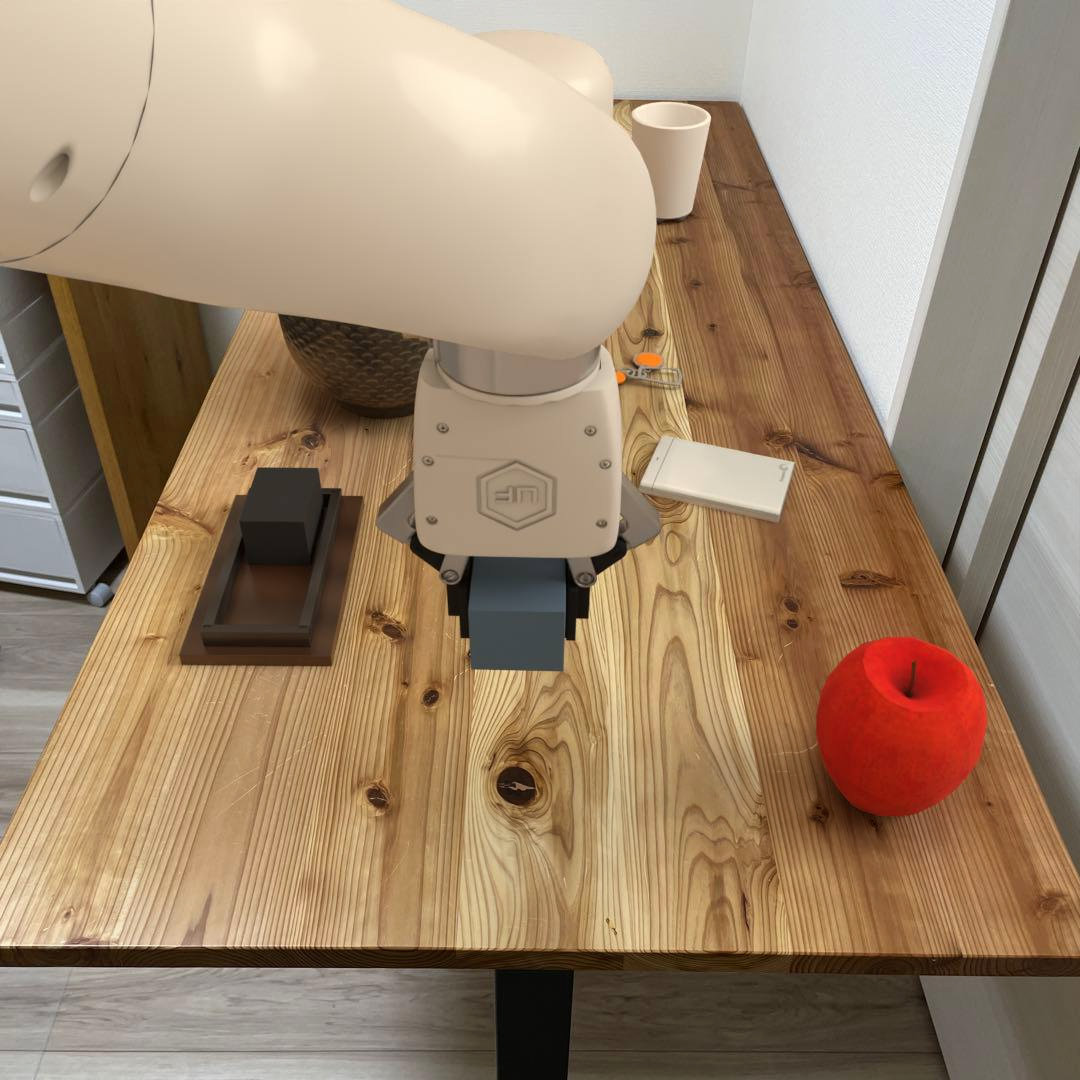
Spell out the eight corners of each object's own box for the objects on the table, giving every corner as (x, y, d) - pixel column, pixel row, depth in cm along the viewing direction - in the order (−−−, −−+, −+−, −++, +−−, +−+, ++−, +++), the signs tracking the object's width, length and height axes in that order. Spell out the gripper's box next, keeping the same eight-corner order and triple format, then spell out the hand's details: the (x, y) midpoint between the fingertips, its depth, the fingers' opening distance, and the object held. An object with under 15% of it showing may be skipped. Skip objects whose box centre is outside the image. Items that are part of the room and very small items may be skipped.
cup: (663, 236, 135) (673, 134, 127) (609, 211, 140) (614, 112, 132) (715, 215, 140) (727, 116, 132) (661, 192, 146) (669, 96, 137)
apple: (928, 728, 74) (976, 601, 66) (977, 852, 67) (1038, 725, 59) (785, 731, 74) (817, 603, 66) (819, 856, 66) (859, 728, 58)
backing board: (332, 665, 78) (328, 641, 76) (181, 664, 78) (174, 640, 76) (364, 504, 93) (361, 481, 91) (237, 503, 92) (232, 480, 91)
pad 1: (311, 565, 85) (304, 521, 82) (248, 564, 85) (238, 520, 82) (325, 510, 90) (318, 467, 87) (265, 509, 90) (257, 467, 87)
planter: (262, 438, 100) (226, 246, 88) (319, 334, 115) (295, 158, 103) (470, 454, 98) (462, 261, 86) (500, 346, 113) (497, 169, 101)
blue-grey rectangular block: (479, 582, 63) (476, 523, 60) (563, 584, 63) (565, 525, 60) (470, 670, 58) (468, 609, 55) (563, 672, 57) (565, 611, 55)
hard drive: (796, 460, 97) (662, 432, 100) (780, 513, 91) (639, 482, 94) (792, 475, 98) (661, 446, 101) (777, 528, 92) (637, 497, 95)
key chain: (683, 356, 112) (683, 349, 111) (681, 394, 106) (682, 387, 106) (562, 347, 113) (562, 340, 113) (554, 384, 108) (554, 377, 107)
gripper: (315, 375, 45) (357, 668, 57) (715, 383, 45) (675, 675, 57) (343, 292, 51) (376, 574, 63) (698, 299, 51) (665, 580, 63)
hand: (518, 619), depth 60 cm, fingers closed on blue-grey rectangular block, 5 cm apart
